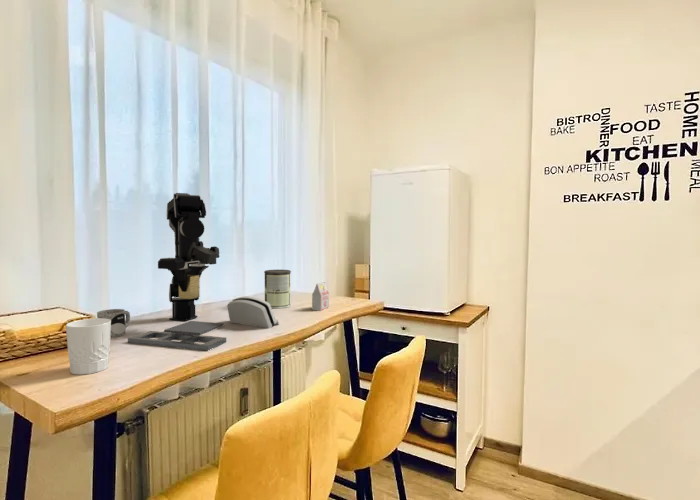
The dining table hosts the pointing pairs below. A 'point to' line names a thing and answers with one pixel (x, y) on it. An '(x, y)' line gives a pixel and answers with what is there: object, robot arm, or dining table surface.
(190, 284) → the mustard yellow block
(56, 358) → the dining table surface
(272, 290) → the coffee can
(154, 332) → the grey slotted frame
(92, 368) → the white cup
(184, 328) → the rubber pad
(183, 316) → the robot arm
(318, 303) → the milk carton
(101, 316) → the mug
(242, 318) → the grey rounded two-tone device
